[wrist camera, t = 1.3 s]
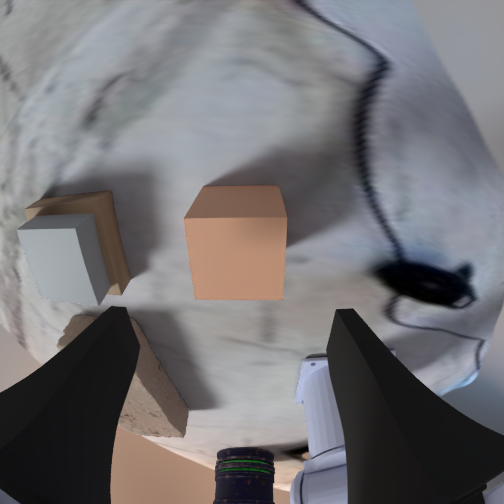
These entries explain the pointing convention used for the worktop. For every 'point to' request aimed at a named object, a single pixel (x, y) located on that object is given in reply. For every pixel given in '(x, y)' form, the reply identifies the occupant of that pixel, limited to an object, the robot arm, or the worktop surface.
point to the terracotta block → (237, 242)
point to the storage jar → (244, 476)
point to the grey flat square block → (65, 258)
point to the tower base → (105, 227)
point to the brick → (143, 390)
